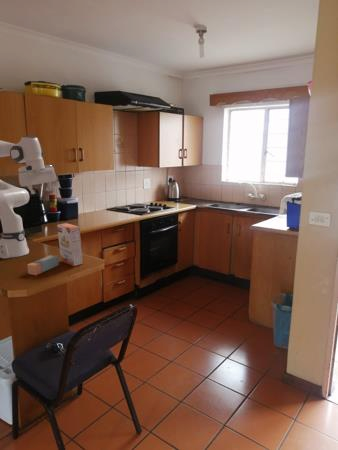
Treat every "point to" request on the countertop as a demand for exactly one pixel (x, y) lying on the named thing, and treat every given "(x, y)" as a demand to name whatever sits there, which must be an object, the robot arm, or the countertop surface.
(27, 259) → the countertop surface
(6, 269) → the countertop surface
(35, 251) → the countertop surface
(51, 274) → the countertop surface
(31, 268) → the block
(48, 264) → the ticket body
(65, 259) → the cracker box
